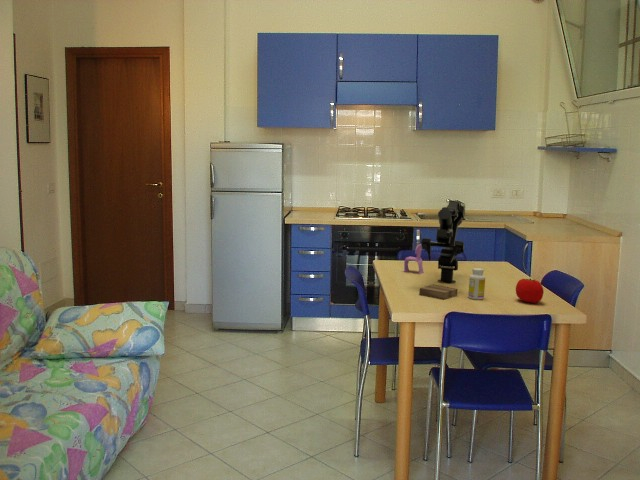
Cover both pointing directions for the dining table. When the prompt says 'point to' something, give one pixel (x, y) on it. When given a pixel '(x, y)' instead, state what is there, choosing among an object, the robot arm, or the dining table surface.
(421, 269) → the toy chair
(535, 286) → the tomato
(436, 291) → the base
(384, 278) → the dining table surface
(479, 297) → the supplement bottle
